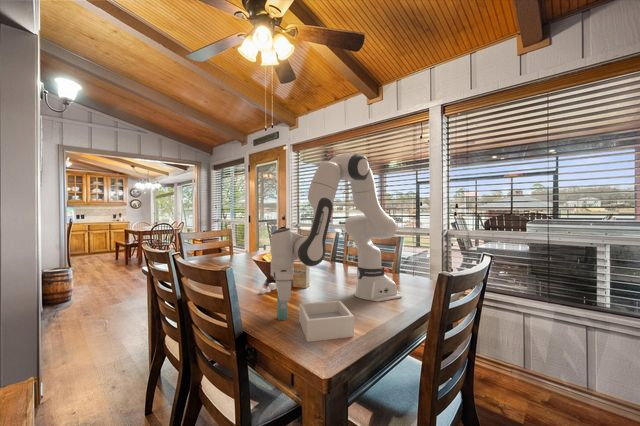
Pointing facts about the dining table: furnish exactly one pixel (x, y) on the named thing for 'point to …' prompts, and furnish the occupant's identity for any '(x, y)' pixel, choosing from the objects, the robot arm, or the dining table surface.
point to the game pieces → (268, 288)
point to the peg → (281, 310)
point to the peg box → (326, 321)
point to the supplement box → (301, 275)
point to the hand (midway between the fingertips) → (282, 305)
